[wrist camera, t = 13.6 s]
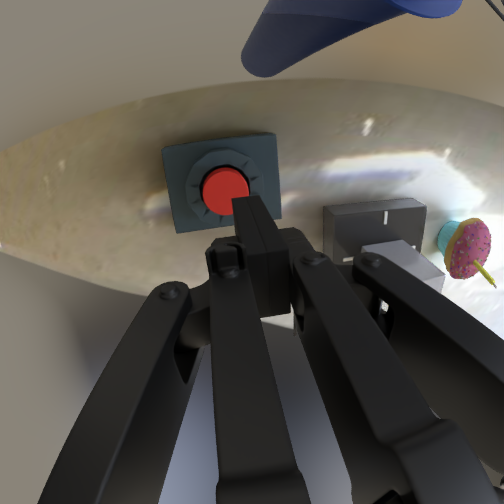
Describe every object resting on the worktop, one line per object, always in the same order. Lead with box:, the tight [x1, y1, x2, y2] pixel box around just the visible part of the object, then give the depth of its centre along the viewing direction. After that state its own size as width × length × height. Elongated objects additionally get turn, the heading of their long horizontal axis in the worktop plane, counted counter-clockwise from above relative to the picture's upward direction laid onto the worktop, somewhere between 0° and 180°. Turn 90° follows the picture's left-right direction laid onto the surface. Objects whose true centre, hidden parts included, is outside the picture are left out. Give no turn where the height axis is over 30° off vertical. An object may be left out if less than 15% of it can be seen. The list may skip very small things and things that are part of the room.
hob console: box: [323, 198, 427, 265], centre depth 31 cm, size 12×10×3 cm
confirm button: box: [203, 167, 249, 215], centre depth 23 cm, size 4×4×2 cm
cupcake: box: [438, 218, 496, 288], centre depth 29 cm, size 9×8×12 cm
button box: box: [161, 133, 282, 234], centre depth 26 cm, size 10×8×4 cm
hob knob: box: [361, 240, 446, 294], centre depth 26 cm, size 6×3×8 cm, turn 95°
